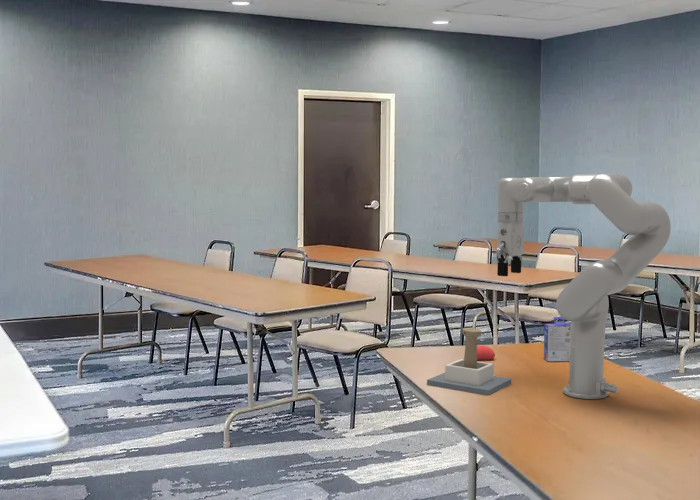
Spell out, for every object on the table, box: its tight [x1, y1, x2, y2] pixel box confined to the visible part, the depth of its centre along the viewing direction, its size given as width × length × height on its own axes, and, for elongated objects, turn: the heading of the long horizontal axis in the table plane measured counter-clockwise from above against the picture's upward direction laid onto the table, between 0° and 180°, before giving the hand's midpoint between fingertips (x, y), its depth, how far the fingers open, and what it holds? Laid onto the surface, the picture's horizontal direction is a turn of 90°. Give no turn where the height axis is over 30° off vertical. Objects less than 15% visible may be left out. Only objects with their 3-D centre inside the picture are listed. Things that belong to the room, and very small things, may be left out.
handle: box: [461, 327, 482, 369], centre depth 244 cm, size 5×6×15 cm
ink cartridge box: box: [543, 316, 572, 362], centre depth 277 cm, size 10×6×14 cm, turn 94°
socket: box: [426, 358, 513, 396], centre depth 245 cm, size 20×16×6 cm
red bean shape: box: [477, 345, 496, 361], centre depth 277 cm, size 5×9×6 cm
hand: (509, 274), depth 250 cm, fingers open, 9 cm apart
